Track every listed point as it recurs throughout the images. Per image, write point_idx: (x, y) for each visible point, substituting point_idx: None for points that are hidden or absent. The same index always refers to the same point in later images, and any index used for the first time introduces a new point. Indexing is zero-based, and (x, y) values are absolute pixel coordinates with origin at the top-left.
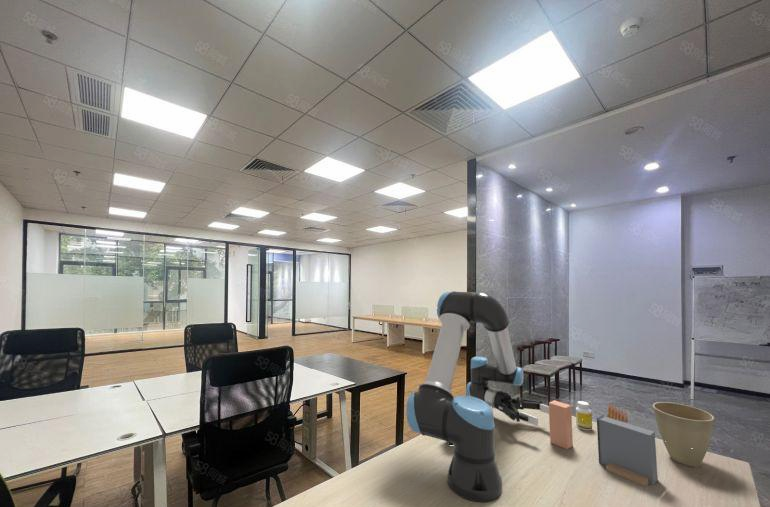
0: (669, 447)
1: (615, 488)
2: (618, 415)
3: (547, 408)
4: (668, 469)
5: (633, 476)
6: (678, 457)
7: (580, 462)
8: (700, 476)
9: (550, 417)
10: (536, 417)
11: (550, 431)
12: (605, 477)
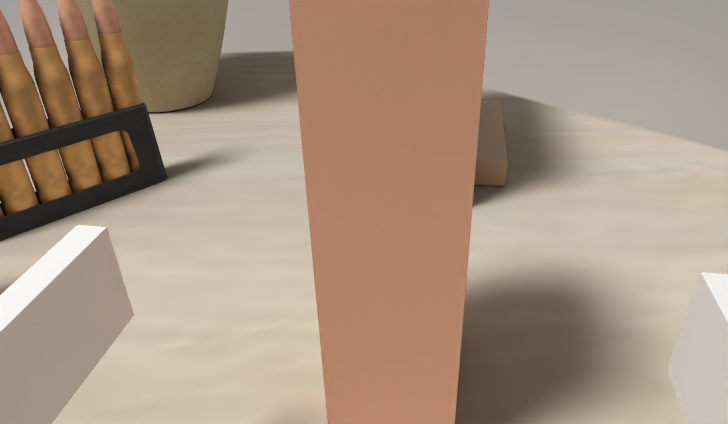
0: (194, 57)
1: (621, 155)
2: (49, 35)
3: (20, 354)
4: (286, 109)
5: (502, 115)
6: (210, 77)
7: (545, 255)
8: (272, 80)
9: (470, 210)
10: (722, 285)
11: (457, 363)
12: (573, 180)
